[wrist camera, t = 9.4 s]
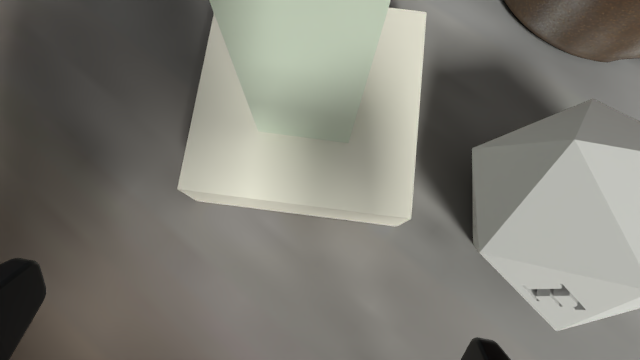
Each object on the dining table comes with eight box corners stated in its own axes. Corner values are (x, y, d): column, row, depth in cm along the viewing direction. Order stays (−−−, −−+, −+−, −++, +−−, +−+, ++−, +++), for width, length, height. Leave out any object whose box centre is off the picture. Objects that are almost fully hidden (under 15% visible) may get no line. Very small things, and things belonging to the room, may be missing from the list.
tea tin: (348, 143, 18) (422, -108, 6) (258, 131, 18) (156, -142, 6) (358, 61, 19) (439, -297, 7) (272, 50, 19) (207, -325, 7)
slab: (396, 226, 20) (411, 218, 17) (196, 201, 20) (177, 189, 17) (411, 46, 22) (426, 12, 19) (231, 23, 22) (219, -14, 19)
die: (412, 167, 21) (449, 284, 13) (559, 48, 18) (744, 92, 10) (505, 263, 23) (593, 423, 14) (652, 169, 20) (876, 298, 11)
